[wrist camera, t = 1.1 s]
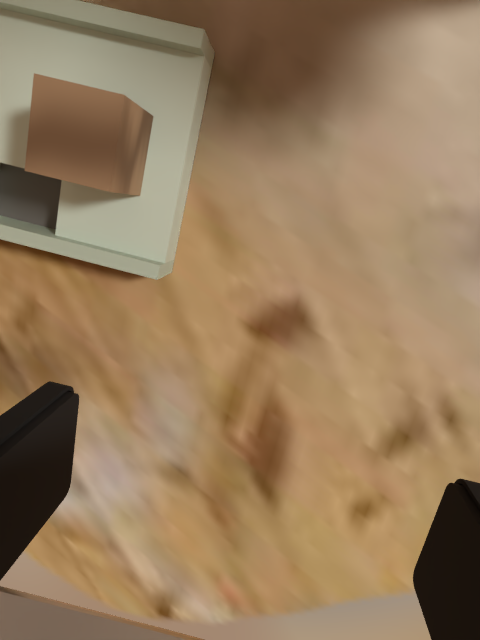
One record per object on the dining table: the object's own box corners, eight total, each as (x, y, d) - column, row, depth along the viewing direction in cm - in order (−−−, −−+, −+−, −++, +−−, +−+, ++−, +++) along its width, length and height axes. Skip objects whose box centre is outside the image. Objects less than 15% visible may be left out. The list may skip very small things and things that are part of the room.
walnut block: (78, 98, 27) (33, 73, 22) (153, 116, 27) (124, 94, 22) (69, 178, 28) (24, 170, 24) (140, 195, 28) (109, 192, 23)
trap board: (214, 52, 28) (204, 29, 24) (171, 272, 32) (157, 279, 28) (-150, -32, 29) (-212, -67, 25) (-148, 190, 33) (-201, 187, 29)
